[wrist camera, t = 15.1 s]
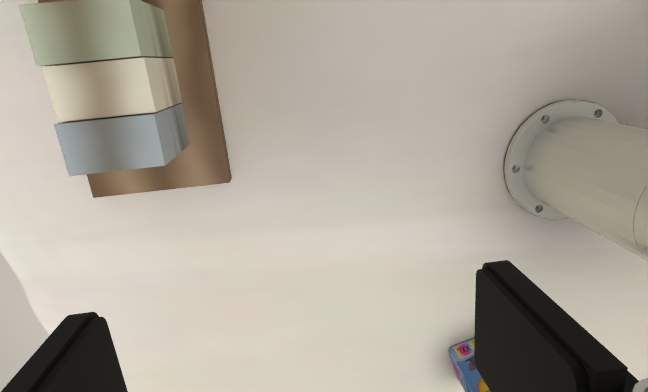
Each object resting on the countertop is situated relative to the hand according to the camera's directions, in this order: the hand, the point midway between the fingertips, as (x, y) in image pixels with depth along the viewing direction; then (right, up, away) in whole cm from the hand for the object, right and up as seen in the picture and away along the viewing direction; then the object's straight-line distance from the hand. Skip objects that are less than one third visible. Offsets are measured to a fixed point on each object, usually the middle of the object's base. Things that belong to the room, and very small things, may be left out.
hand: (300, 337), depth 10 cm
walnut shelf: (-16, +16, +27) cm, 36 cm away
